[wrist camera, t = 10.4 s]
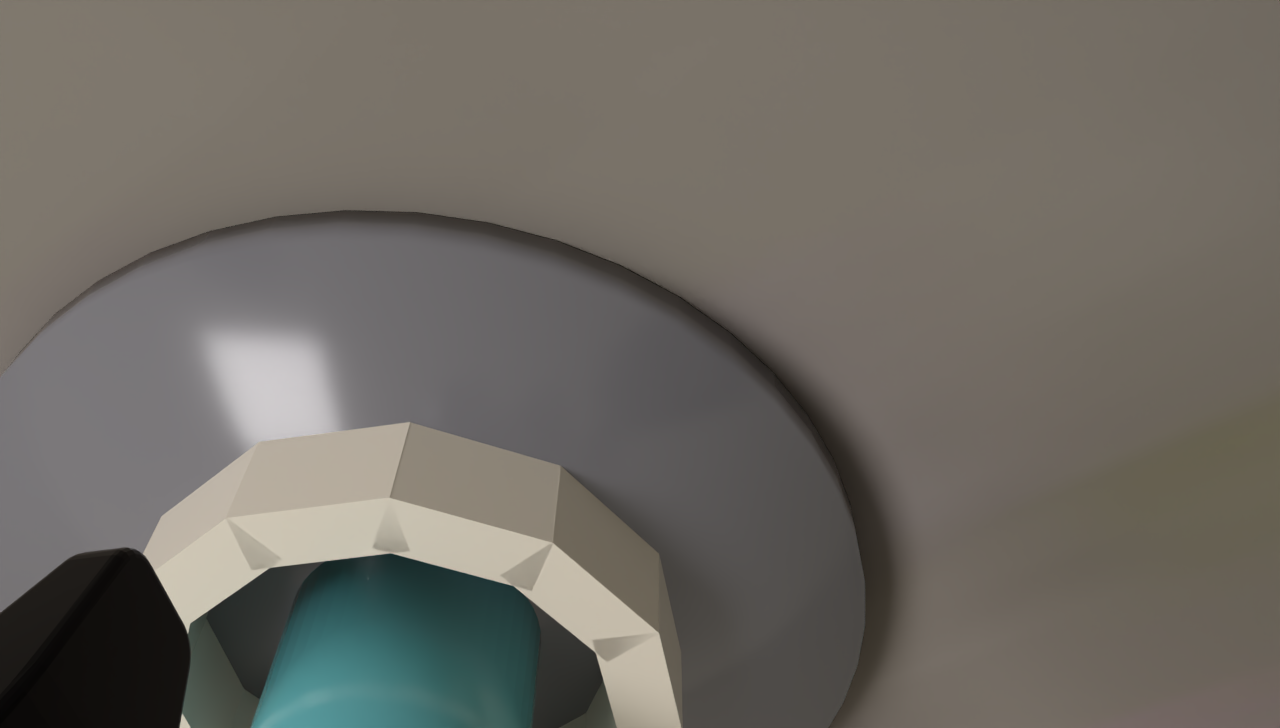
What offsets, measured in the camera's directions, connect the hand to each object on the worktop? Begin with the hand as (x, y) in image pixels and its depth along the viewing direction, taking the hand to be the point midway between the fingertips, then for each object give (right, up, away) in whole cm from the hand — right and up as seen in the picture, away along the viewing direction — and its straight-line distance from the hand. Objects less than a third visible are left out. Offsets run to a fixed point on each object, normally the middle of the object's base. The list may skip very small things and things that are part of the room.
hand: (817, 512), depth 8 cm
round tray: (-6, -4, +17) cm, 19 cm away
